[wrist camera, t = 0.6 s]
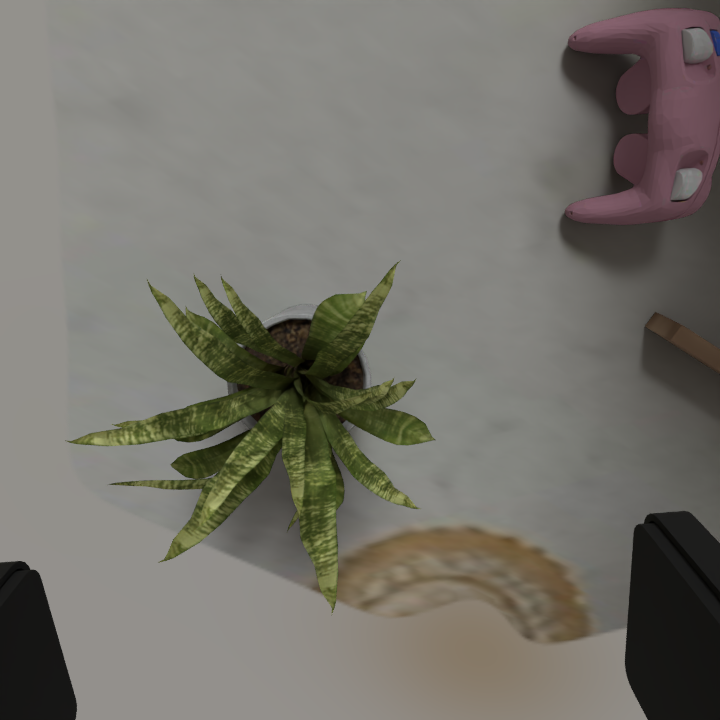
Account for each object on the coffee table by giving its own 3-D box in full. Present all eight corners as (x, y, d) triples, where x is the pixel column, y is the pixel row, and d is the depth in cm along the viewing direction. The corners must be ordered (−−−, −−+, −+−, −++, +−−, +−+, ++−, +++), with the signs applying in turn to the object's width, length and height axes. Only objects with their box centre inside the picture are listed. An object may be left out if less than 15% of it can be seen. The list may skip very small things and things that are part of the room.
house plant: (234, 155, 33) (132, 150, 17) (468, 257, 35) (565, 336, 19) (152, 388, 37) (10, 554, 21) (367, 469, 39) (379, 675, 23)
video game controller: (615, 217, 36) (734, 222, 30) (556, 226, 34) (670, 234, 28) (623, 26, 33) (757, -10, 27) (558, 25, 31) (687, -15, 25)
